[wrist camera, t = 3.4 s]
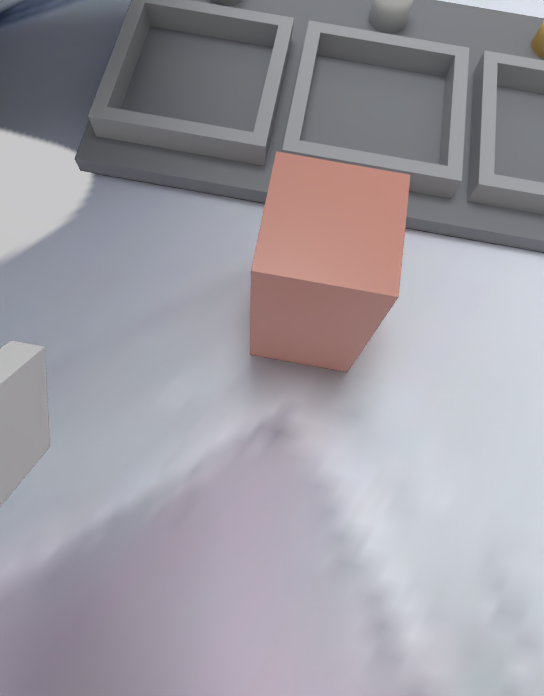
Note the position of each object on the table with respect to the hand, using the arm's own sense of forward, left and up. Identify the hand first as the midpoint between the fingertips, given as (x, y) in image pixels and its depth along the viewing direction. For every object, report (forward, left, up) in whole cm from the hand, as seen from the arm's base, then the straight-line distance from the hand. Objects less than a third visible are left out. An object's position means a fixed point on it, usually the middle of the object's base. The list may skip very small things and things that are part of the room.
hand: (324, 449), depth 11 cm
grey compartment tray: (+2, +23, -12) cm, 27 cm away
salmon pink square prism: (0, +8, -13) cm, 15 cm away
